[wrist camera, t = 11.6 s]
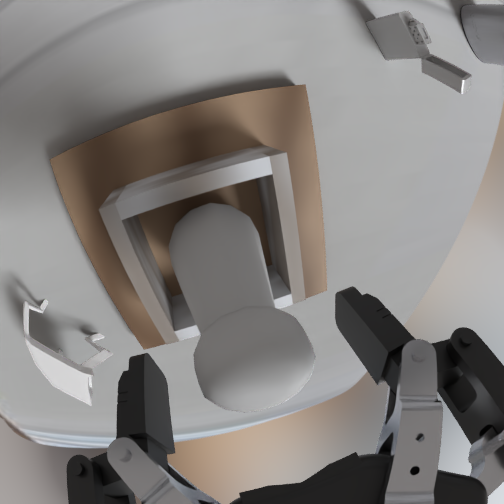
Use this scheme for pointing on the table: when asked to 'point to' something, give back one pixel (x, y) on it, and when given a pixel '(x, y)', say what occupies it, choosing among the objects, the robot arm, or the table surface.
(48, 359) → the white bent open piece
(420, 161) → the table surface
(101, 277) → the wooden base with frame
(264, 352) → the salt shaker
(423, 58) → the lighter
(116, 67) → the table surface
